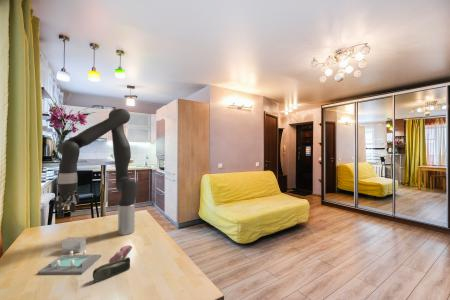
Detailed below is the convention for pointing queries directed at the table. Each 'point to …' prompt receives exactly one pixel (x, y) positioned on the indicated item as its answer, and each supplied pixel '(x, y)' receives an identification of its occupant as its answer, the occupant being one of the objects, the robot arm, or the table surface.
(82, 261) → the docking tray
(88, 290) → the table surface
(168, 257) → the table surface
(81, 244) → the block
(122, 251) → the pink oblong lump
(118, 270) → the mobile phone
